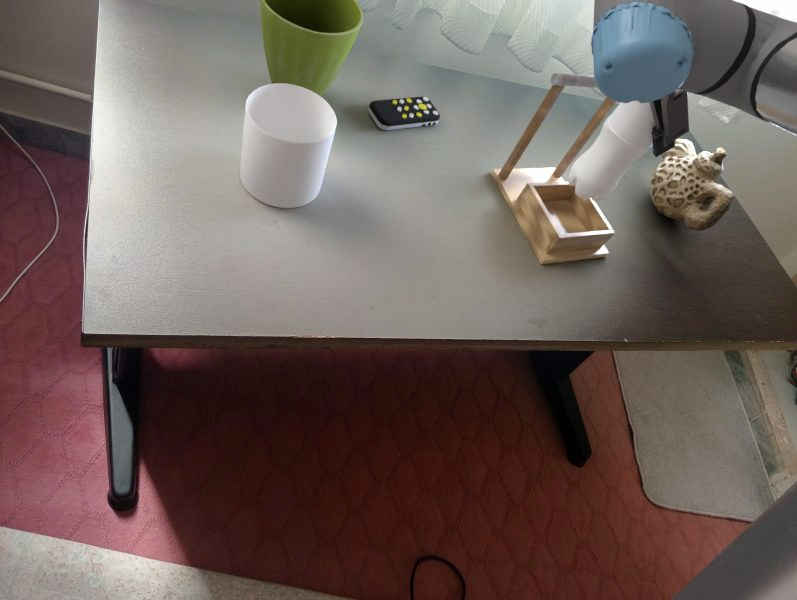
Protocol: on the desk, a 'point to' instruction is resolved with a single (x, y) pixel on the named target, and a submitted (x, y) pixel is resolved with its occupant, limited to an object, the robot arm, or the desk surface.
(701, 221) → the teapot
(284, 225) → the desk surface
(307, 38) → the flower pot
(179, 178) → the desk surface
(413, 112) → the remote control
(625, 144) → the water bottle
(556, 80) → the rack
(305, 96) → the cup
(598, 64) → the robot arm
